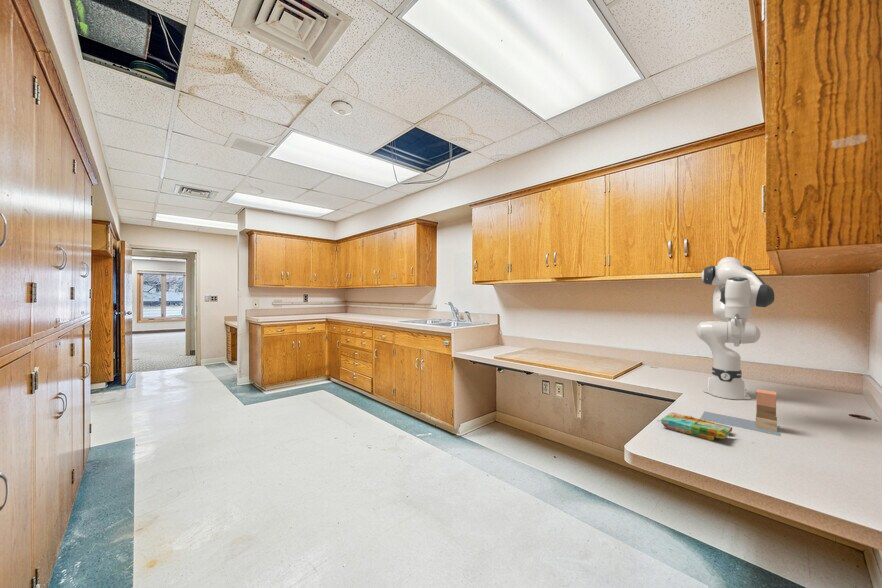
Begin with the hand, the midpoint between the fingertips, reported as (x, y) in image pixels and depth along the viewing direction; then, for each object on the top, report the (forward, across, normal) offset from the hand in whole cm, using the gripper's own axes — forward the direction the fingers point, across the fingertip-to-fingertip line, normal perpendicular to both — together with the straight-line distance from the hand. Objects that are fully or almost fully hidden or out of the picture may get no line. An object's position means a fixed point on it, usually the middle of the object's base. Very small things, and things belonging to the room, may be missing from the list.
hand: (737, 345), depth 150 cm
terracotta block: (+21, -13, -10) cm, 27 cm away
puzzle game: (+32, -35, +10) cm, 48 cm away
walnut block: (+26, -13, -9) cm, 31 cm away
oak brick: (+30, -13, -10) cm, 34 cm away
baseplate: (+31, -14, -2) cm, 34 cm away
